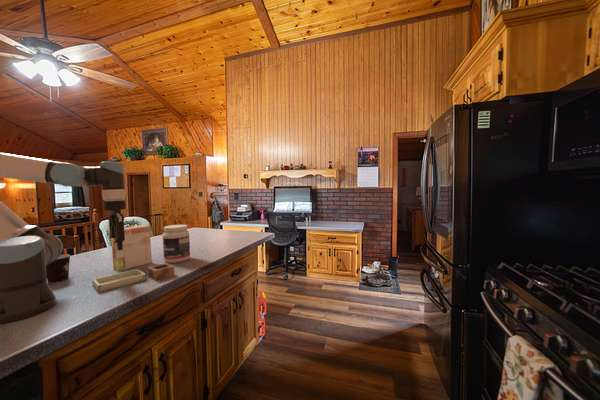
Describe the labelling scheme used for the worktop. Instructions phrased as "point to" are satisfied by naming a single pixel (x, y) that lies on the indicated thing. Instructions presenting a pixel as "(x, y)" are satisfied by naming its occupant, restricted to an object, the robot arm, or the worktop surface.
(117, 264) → the pin
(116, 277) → the tray
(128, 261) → the coffeecake box
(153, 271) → the socket block
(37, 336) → the worktop surface
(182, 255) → the supplement tub
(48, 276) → the coffee mug
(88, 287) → the worktop surface
